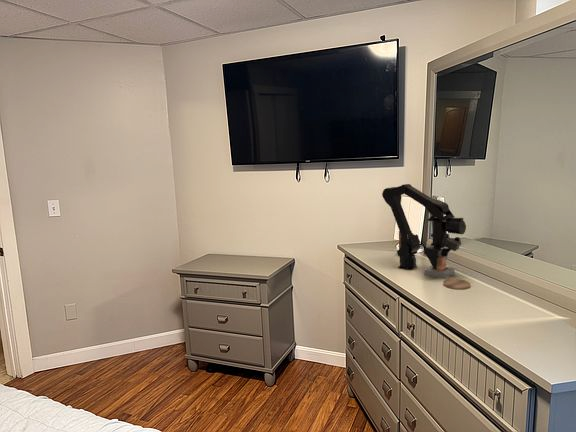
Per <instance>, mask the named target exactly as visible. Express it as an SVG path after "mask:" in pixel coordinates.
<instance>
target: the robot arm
mask: <svg viewBox="0 0 576 432" xmlns="http://www.w3.org/2000/svg"><path fill="white" fill-rule="evenodd" d="M381 195H382V198H383V200H384V201H385V203H386V204H387V205H388V206H389V207H390V209H391V211H392V215H393V217H394V220H395V222H396V223H395V224H396V225H397V228H398V230H399V231H400V234H401V248H400V249H399V248H398V250H397V251H396V255H397V256H398V257H399V265H398V267H397V268H398V269H402V270H403V269H404V270H409V271H411V270H413V269H415V268H417V266H418V265H417V258H416V255H417V254H418V251H420V248H421V242H422V241H420V239H419V235H418V234H414V233H413V231H412V230H411V227H410V225H409V222H408V220H407V217H406V213H405V211H404V207H403V206H402V196H403V195H406V196H407V197H409V198H411V199H412V200H413V201H415V202H417V203H418V204H420V205H421V206H423V207H424V208H425V209H426V211H427V212H428V213H429V214H430V215H431V216H430V217H429V218H428V219H427V221H428V222H432V233H431V234H430V237H431V238H432V242H431V243H430V245H429V246H427V247H425V248H424V249H423V255H425V257H427V258H428V261H429V262H430V264H431V266H433V268H434V269H437V263H438V258H439V257H440V256H446V260H447V258H448V255H449V253H450V252H451V251H453V252H456V251H457V250H460V247H461V245H462V241H461V238H460V237H458V236H457V237H455V238H454V237H450V234H456V235H464V234H465V233H466V230H467V224H466V222H465V220H464V217H455V215H454V214H453V212H452V211H451V210H450V208H449V205H448V203H446V202H445V201H443V200H439V199H435V198H433V197H431V196H429V195H428V194H425V193H424V192H422V191H421V190H419V189H417V188H415V187H413V186H412V184H409V183H406V184H401V185H399V186H391V187H386V188H384V189H383V191H382V193H381ZM399 231H398V232H399ZM411 231H412V232H411Z"/></svg>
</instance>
